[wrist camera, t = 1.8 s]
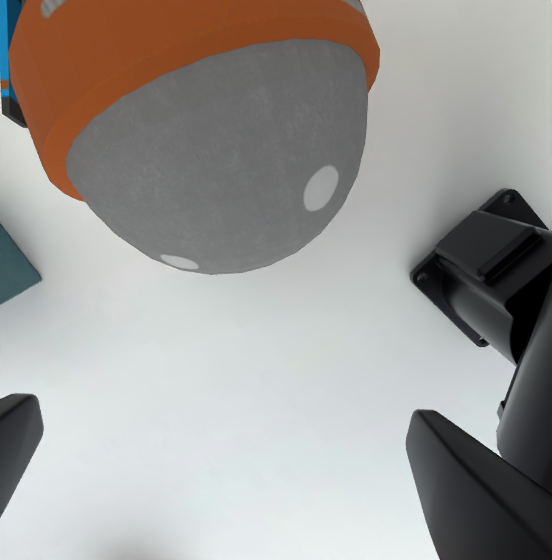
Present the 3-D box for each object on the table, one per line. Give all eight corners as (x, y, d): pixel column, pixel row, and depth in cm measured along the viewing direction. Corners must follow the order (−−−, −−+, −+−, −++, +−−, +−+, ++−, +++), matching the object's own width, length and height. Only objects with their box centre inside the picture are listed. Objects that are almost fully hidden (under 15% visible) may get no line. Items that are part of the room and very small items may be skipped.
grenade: (362, 232, 17) (251, -65, 17) (531, 159, 7) (252, -616, 6) (145, 315, 16) (25, 6, 16) (-34, 373, 6) (-382, -487, 6)
